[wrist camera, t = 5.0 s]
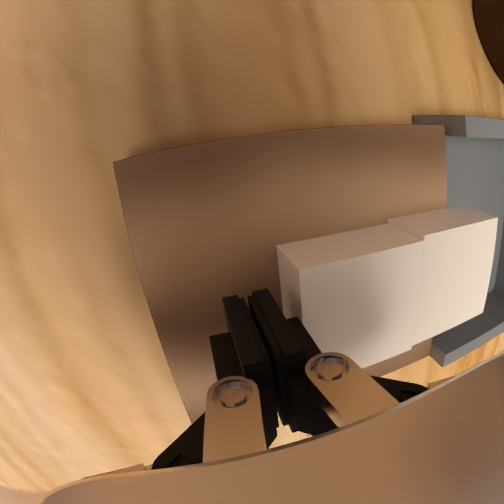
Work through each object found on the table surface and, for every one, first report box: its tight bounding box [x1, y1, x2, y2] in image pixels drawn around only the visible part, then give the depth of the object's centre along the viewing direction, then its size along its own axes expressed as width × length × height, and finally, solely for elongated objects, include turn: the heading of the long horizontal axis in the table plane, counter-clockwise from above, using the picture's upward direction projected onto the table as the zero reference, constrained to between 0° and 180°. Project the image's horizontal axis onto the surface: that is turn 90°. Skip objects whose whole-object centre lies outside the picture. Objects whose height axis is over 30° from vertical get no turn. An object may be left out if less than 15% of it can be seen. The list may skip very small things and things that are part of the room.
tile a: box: [276, 224, 424, 368], centre depth 12 cm, size 5×5×2 cm
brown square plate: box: [113, 125, 447, 424], centre depth 15 cm, size 13×14×3 cm
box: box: [412, 115, 504, 367], centre depth 16 cm, size 14×10×4 cm
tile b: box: [387, 205, 498, 346], centre depth 13 cm, size 5×5×2 cm
